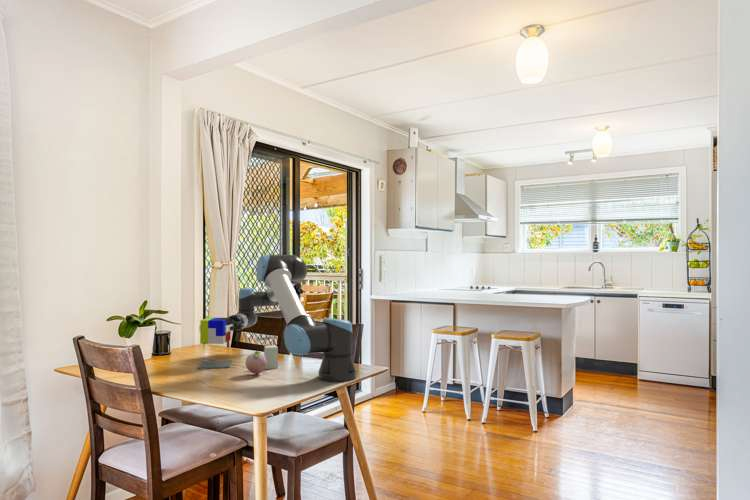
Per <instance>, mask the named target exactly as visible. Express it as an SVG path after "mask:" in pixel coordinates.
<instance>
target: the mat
mask: <svg viewBox="0 0 750 500" xmlns="http://www.w3.org/2000/svg"><path fill="white" fill-rule="evenodd" d="M232 363H233V360H207V361H206V360H205V361H204V360H202V361H201V362H200V364H199V365H198V367H197V369H198V370H208V369H230V367H231V365H232Z"/></svg>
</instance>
